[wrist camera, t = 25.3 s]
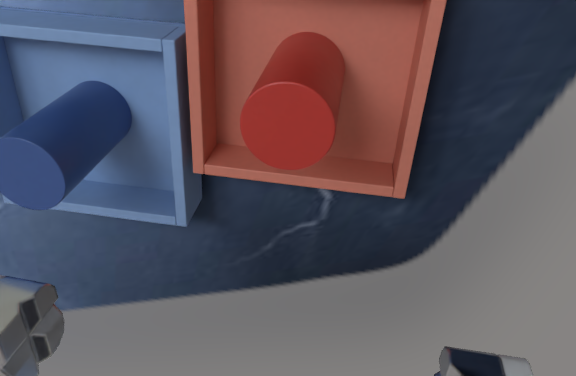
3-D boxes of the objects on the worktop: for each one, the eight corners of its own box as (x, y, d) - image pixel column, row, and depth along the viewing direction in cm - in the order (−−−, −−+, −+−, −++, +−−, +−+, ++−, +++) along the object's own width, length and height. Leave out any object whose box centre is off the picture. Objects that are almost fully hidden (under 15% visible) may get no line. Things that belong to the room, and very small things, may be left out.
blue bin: (195, 24, 24) (174, 40, 22) (202, 198, 30) (186, 227, 27) (-9, 5, 25) (-51, 18, 23) (34, 177, 31) (4, 203, 28)
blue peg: (128, 83, 26) (56, 142, 20) (135, 145, 28) (71, 215, 22) (63, 76, 26) (-26, 132, 21) (74, 138, 28) (-4, 205, 22)
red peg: (349, 35, 23) (341, 87, 17) (340, 107, 25) (330, 176, 19) (272, 27, 24) (239, 76, 18) (270, 99, 25) (238, 165, 20)
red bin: (442, -35, 22) (452, -25, 19) (401, 169, 27) (404, 199, 24) (202, -54, 23) (180, -46, 20) (209, 147, 28) (192, 173, 25)
